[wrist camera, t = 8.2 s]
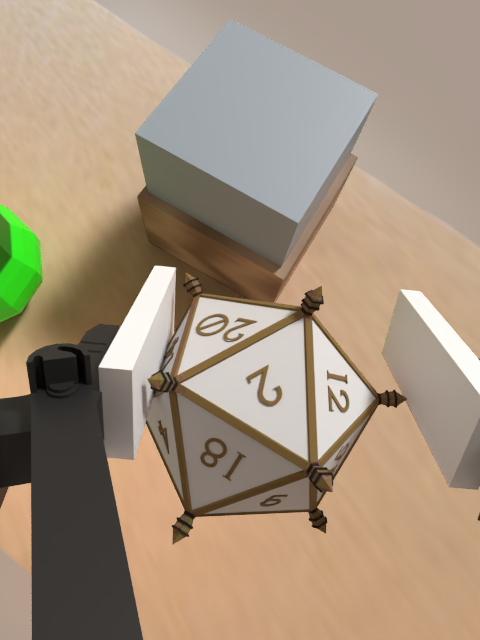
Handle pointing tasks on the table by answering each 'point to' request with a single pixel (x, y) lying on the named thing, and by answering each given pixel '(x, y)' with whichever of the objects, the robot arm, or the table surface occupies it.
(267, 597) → the table surface
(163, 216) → the tower base
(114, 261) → the table surface
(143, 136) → the tower top
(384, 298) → the table surface
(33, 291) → the plastic bottle
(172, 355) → the game die
